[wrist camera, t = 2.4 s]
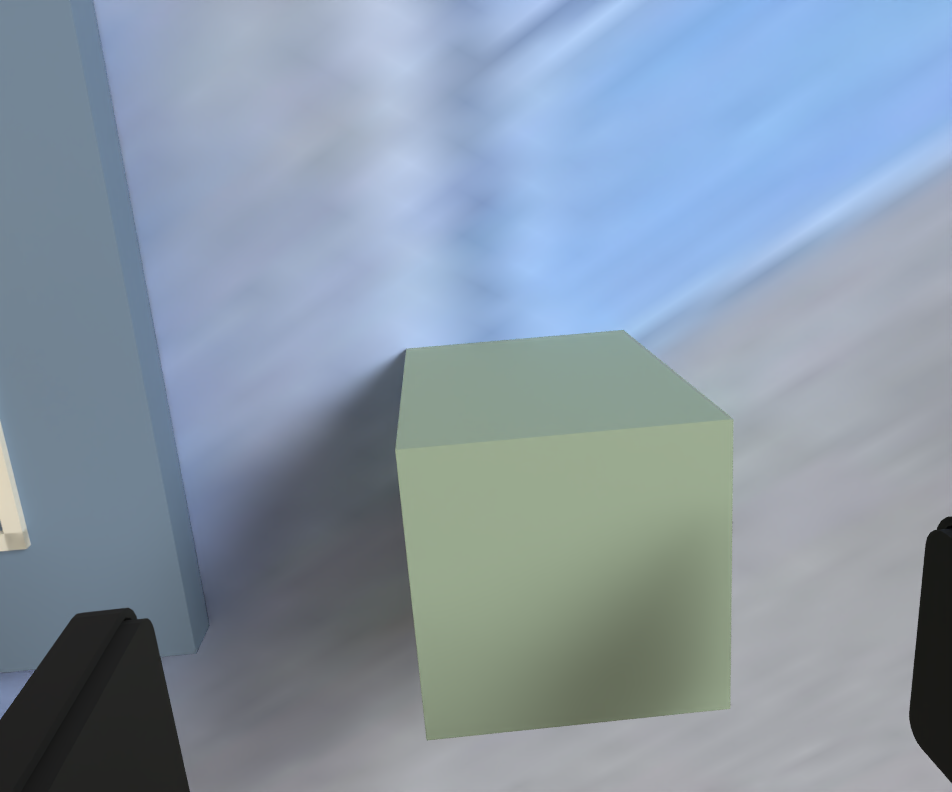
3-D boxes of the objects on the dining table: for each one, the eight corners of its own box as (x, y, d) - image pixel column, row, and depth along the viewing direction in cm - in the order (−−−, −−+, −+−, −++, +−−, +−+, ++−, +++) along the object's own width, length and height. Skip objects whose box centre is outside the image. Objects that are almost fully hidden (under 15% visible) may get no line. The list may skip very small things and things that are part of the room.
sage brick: (628, 528, 20) (730, 708, 13) (426, 547, 20) (426, 740, 13) (622, 329, 19) (733, 418, 12) (405, 348, 19) (395, 449, 12)
